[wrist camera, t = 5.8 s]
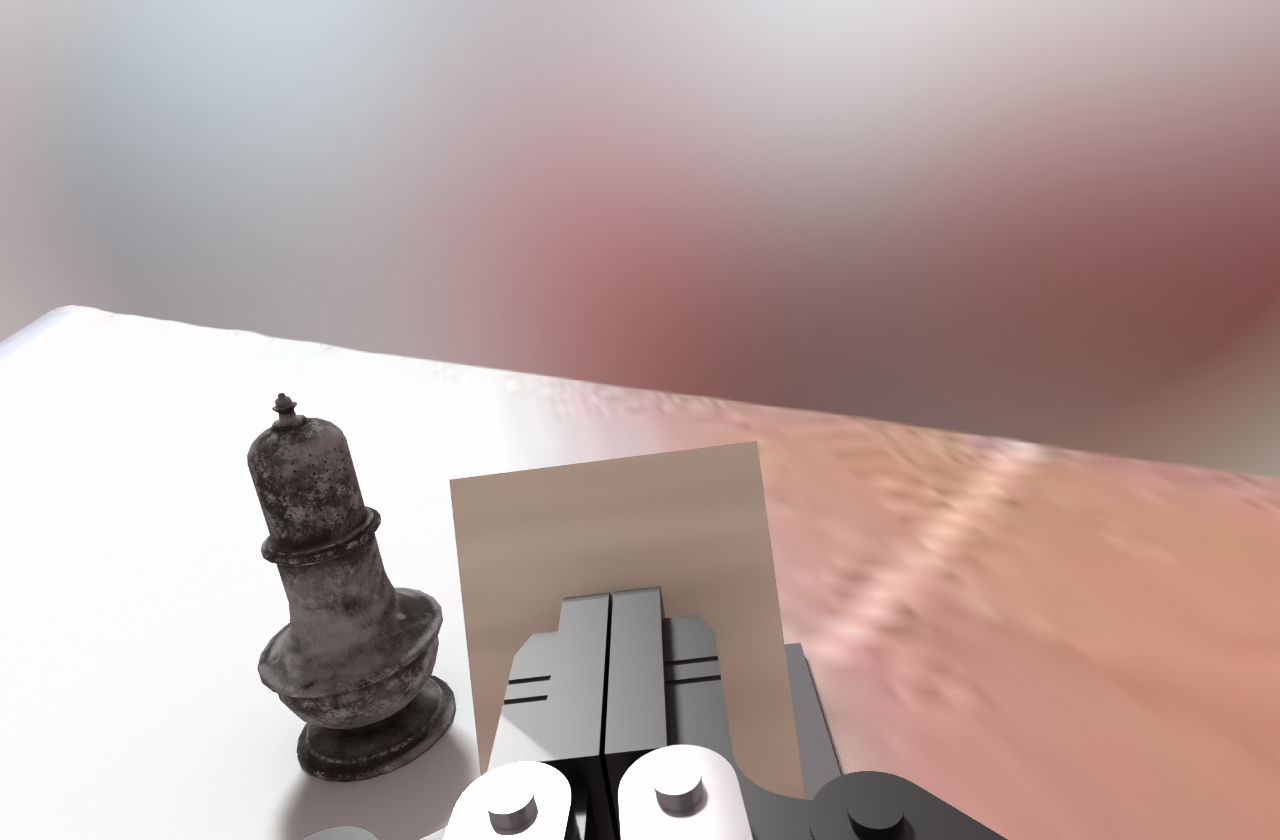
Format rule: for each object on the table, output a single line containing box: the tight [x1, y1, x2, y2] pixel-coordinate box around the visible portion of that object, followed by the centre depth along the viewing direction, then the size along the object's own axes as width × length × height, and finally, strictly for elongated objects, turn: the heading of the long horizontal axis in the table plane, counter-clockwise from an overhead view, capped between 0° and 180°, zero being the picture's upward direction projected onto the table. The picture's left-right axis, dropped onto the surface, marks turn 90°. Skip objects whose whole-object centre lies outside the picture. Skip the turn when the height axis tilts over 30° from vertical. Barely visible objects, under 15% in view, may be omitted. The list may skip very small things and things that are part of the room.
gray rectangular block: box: [785, 643, 841, 800], centre depth 24 cm, size 12×9×1 cm
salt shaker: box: [247, 393, 456, 782], centre depth 27 cm, size 6×6×12 cm
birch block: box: [450, 441, 805, 799], centre depth 15 cm, size 5×5×12 cm
